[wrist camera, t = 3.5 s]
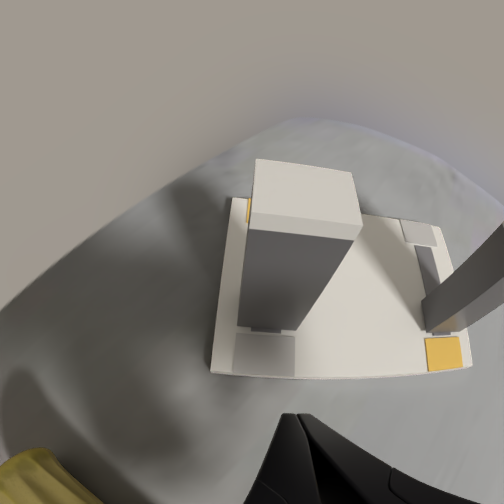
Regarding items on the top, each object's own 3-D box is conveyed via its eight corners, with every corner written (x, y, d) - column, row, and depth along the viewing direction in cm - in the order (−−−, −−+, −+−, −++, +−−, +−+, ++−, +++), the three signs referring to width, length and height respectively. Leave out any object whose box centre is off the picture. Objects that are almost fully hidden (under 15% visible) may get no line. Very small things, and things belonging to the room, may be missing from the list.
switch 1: (296, 330, 17) (363, 225, 9) (236, 326, 17) (251, 211, 9) (296, 292, 19) (351, 172, 10) (240, 287, 18) (256, 158, 10)
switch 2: (459, 331, 18) (555, 261, 9) (426, 333, 18) (528, 254, 9) (453, 301, 19) (539, 224, 11) (420, 300, 19) (510, 213, 11)
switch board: (466, 368, 17) (473, 365, 16) (210, 372, 16) (210, 369, 16) (435, 232, 24) (440, 226, 24) (232, 204, 24) (232, 196, 23)
